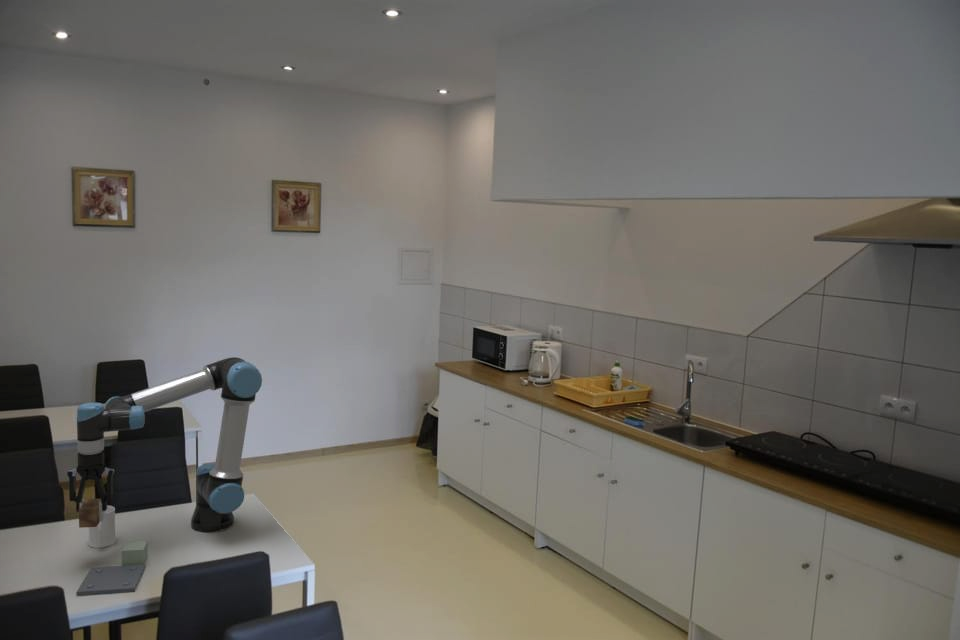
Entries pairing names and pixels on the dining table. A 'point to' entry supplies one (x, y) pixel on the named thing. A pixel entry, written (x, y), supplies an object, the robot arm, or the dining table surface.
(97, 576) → the plate
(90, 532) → the mug
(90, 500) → the walnut brick
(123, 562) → the sage brick
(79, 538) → the dining table surface
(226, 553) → the dining table surface
